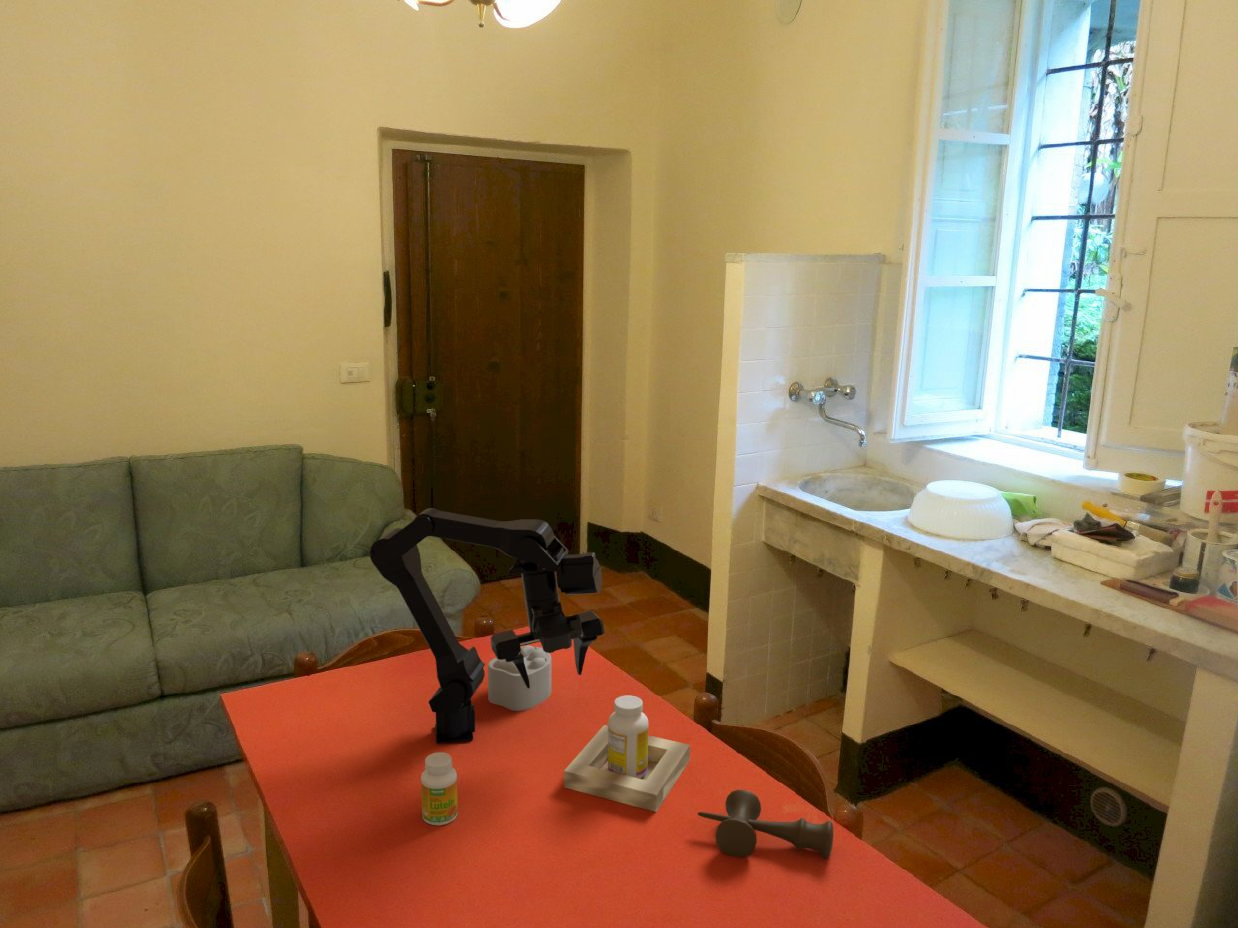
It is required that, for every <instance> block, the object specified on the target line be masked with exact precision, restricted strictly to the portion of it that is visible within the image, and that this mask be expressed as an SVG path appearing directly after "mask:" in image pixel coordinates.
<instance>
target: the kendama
mask: <svg viewBox="0 0 1238 928" xmlns="http://www.w3.org/2000/svg"><path fill="white" fill-rule="evenodd" d="M724 803H725V811H726V813H727V815H725V814H721V813H720V814H719V813H712V812H708V811H706V812H705V811H698V812H697V815H698V816H699V817H701V818H705V819H708V820H712V821H717V822H720V824H719V825H718V826H717V828H716V832H715V842H716V845H717V847H718V849H719V850H720V851H721V852H722V853H724V854H725V855H728V856H731V857H736V858H745V857H748V856H750V855H751V854H752V853H753V852H754V851H755V849H756V846H757V841H758V840H757V833H756V832H755V831H757V832H762V833H763V834H767V835H770V836H773V837H776V838H778V839H782V840H783V841H786V842H788V843H790V844H792V845H793V846H795V848H796V850H798V851H801V850H803V849H809V850H813V851H815V852H818V853H819V854H820V855H821V856H822V857H823V858H825V859H828V858H829V857H830V855H831V854H832V853H831V852H832V850H833V845H834V834H835V833H834V824H833V822H832V821H831V820H826V821H825V822H823V823H812V822H809V821H807V820H806V819H805V818H804V817H801V818H799V819H798V820H795V821H775V820H774V821H773V820H772V821H771V820H759V818H760V815H761V813H762V805H761V804H762V803H761V800H760V799H759V797H758V796H757V794H755V793H754V792H752V791H749V790H747V789H735V790H733V791H731V792H730V793H729V794H728V795H727V797H726V799H725V802H724Z"/></svg>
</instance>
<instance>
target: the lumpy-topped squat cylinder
mask: <svg viewBox="0 0 1238 928" xmlns="http://www.w3.org/2000/svg"><path fill="white" fill-rule="evenodd" d="M520 652H521V653H522V655H523V656H524V664H525V667H526V671H527V675H528V678H529V683H530V688H527V687H526V685H525V683H524V681H523V679H522V677H521V675H520V673H519V671H518V669H517V667H516V666H515V664H514V663H513V662H506V661H505V659H503V660H498V658H497V657H494V658H492V659H491V660H490V661H489V662H488V664H487V691H488V692H487V696H488V699H487V700H488V701H489V703H491V704H494V705H498V706H502V707H504V708H506V709H508V710H511V711H514V712H523V711H528V710H530V709H533V708H534V707H536V706H538V705H540V704H542V703H543V702H544V701H546V700H547V699H548V698H549V697H550V696H551V694H552V656H551V653H546V652H545V651H544V650H543V647H539V646H532V645H530V644H528V645H524V646H521V651H520Z"/></svg>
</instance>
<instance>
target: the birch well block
mask: <svg viewBox="0 0 1238 928" xmlns="http://www.w3.org/2000/svg"><path fill="white" fill-rule="evenodd" d="M690 755H691V744H687V743H684V742H678V741H674V740H670V739H666V738H662V737H658V736H653V735H649V734H648V769H647V773H646V775H645V776H644V777H642V778H641V779H638V778H634V777H631V776H627V775H623V774H619V773H615V772H611V771H608V724H607V725H606V724H604V725H603V726H602V727H601V728H600V729H599V730H598V731H597V732H596V734H595V735H594V736H593V737H592V738H591V739H590V741H589V742H588V743H587V744H586V745H585V746H584V748H583V749H581V750H580V752H579V753H578V754H577V756H575V758H574V759H573V760H572V761H571V762H570V763H569V765H568V766H566V768H565V769H564V771H563V788H566V789H569V790H573V791H577V792H580V793H584V794H588V795H592V796H594V797H599V798H603V799H606V800H611V801H613V802H616V803H617V802H618V803H620V804H624V805H629V806H632V807H636V808H640V809H644V810H647V811H651V812H655V813H657V812H658V810H659V809H660V807H661V805H662V804H663V803H664V801H665V799H666V798H667V796H668V795H669V793H670V792H671V790H672V788H673V787H674V786H675V784H676V782H677V781H678V779H679V777H680V776H681V775H682V773H683V771H684V770H685V768H686V767H687V765H688V763H689V762H690V758H691V757H690Z"/></svg>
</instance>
